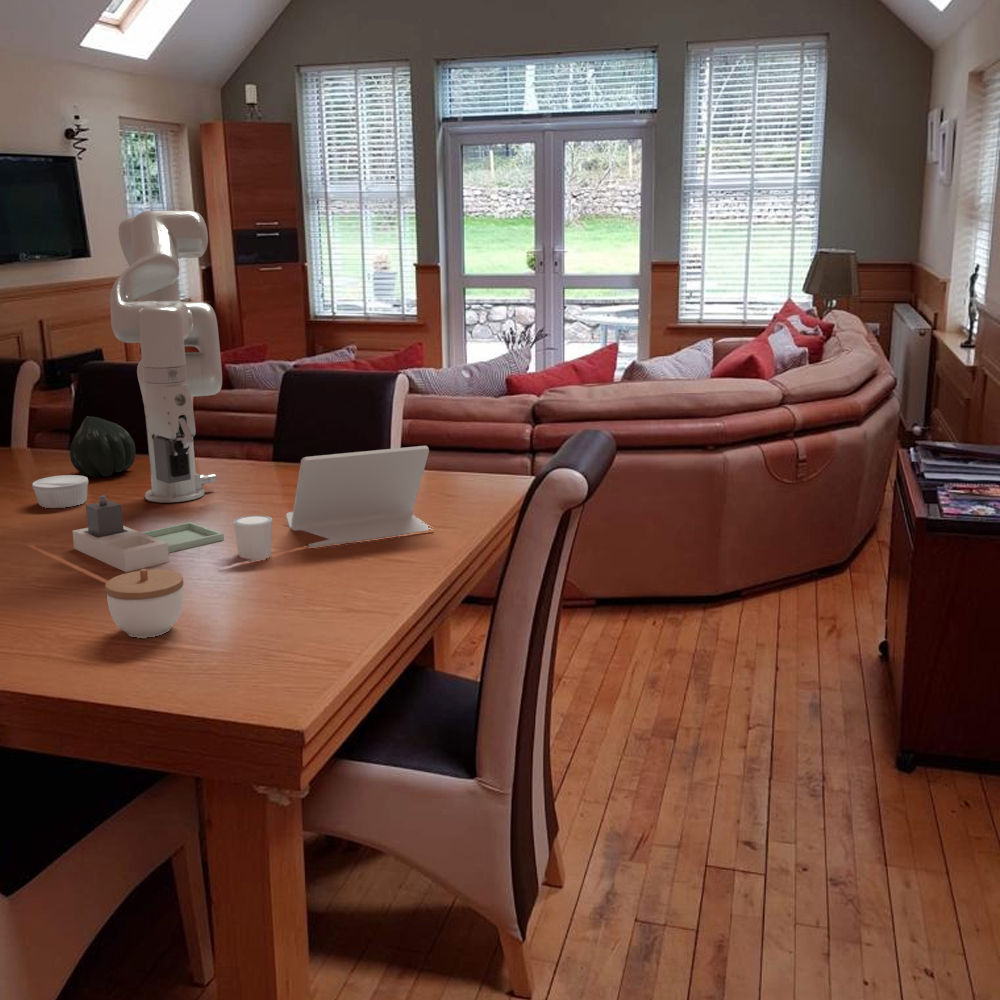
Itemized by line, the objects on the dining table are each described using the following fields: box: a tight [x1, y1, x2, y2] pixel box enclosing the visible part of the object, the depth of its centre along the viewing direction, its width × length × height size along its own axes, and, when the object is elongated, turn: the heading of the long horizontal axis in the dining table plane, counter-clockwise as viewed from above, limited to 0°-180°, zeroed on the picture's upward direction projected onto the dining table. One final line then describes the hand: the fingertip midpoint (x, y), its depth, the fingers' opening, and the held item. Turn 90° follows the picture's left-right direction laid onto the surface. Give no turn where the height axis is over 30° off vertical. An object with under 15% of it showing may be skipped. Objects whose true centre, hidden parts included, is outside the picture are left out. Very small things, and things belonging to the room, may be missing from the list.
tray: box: [141, 521, 225, 554], centre depth 196 cm, size 12×12×2 cm
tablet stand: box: [285, 445, 433, 548], centre depth 203 cm, size 18×25×17 cm
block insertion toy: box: [72, 494, 170, 573], centre depth 186 cm, size 8×20×11 cm, turn 46°
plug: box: [153, 435, 191, 484], centre depth 193 cm, size 4×4×10 cm
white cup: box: [232, 514, 273, 562], centre depth 187 cm, size 7×7×7 cm
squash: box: [69, 415, 136, 478], centre depth 254 cm, size 14×15×15 cm
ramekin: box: [32, 474, 89, 509], centre depth 226 cm, size 11×11×5 cm
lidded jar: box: [104, 568, 184, 639], centre depth 151 cm, size 11×11×9 cm
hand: (173, 471), depth 194 cm, fingers closed on plug, 4 cm apart
